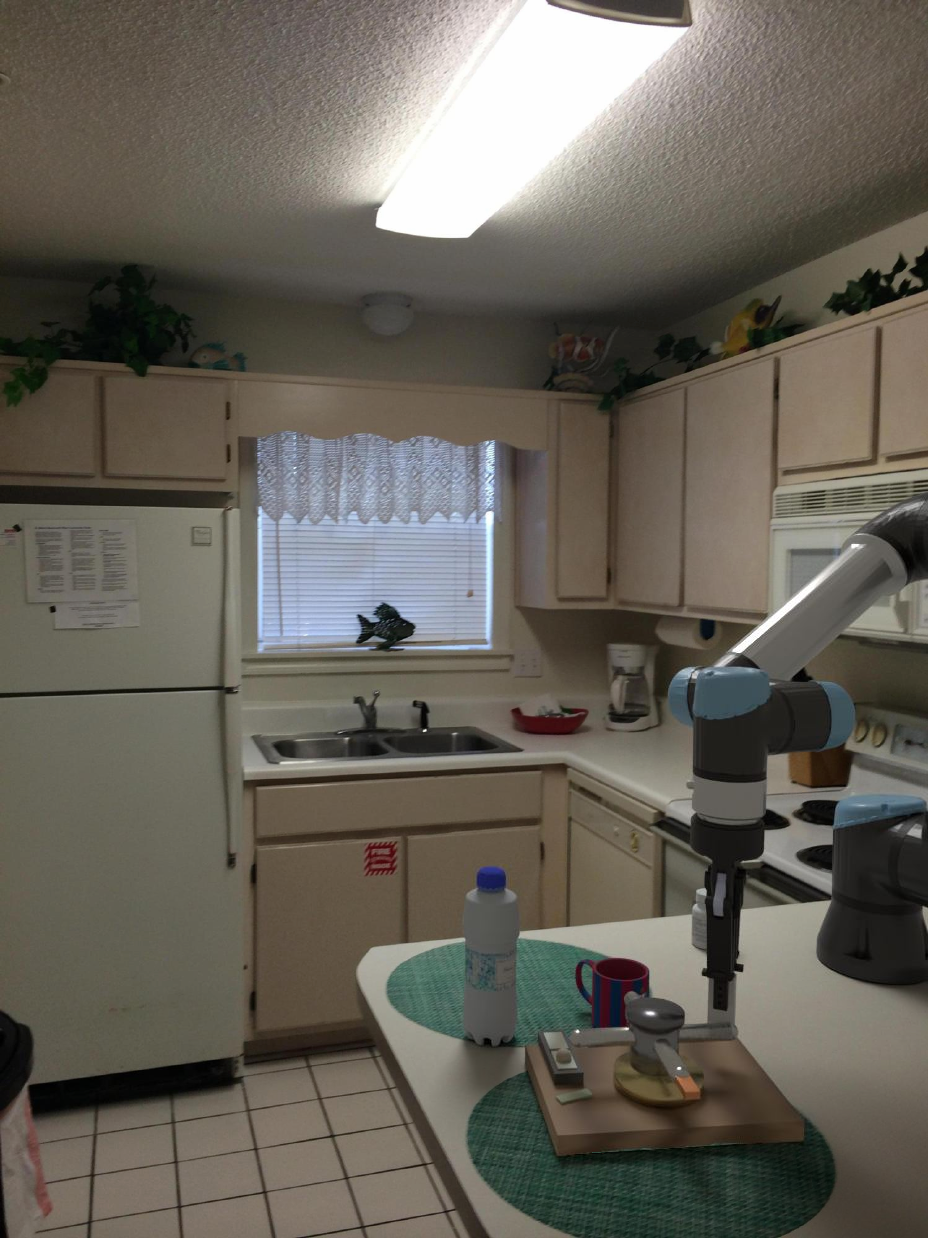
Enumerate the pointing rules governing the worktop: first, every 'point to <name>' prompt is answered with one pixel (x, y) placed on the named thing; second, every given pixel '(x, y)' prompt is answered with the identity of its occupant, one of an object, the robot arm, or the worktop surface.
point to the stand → (608, 1120)
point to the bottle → (490, 958)
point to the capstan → (655, 1051)
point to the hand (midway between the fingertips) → (720, 1034)
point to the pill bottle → (699, 920)
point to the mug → (612, 988)
